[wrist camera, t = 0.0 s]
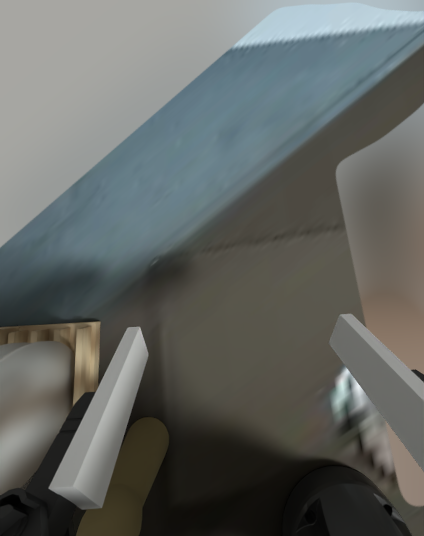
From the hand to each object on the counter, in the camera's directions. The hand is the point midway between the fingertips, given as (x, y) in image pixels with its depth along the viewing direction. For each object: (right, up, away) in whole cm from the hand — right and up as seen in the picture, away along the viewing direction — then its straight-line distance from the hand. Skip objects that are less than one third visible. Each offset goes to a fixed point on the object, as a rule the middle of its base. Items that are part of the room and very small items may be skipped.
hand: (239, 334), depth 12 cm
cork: (-11, -19, +13) cm, 26 cm away
